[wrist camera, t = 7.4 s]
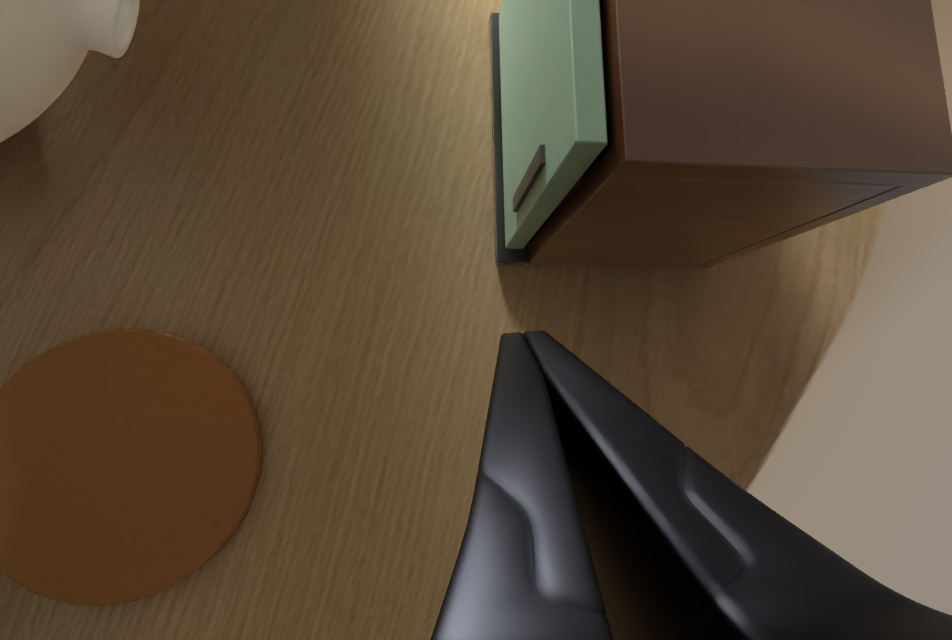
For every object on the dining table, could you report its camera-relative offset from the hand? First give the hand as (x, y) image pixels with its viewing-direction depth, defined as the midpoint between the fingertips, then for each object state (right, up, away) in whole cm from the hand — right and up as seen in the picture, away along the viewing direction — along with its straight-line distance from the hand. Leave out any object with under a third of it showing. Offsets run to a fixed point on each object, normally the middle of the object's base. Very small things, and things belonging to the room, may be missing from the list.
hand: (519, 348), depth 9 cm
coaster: (-14, -5, +9) cm, 17 cm away
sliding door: (+1, +9, +11) cm, 15 cm away
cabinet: (+6, +9, +13) cm, 17 cm away
